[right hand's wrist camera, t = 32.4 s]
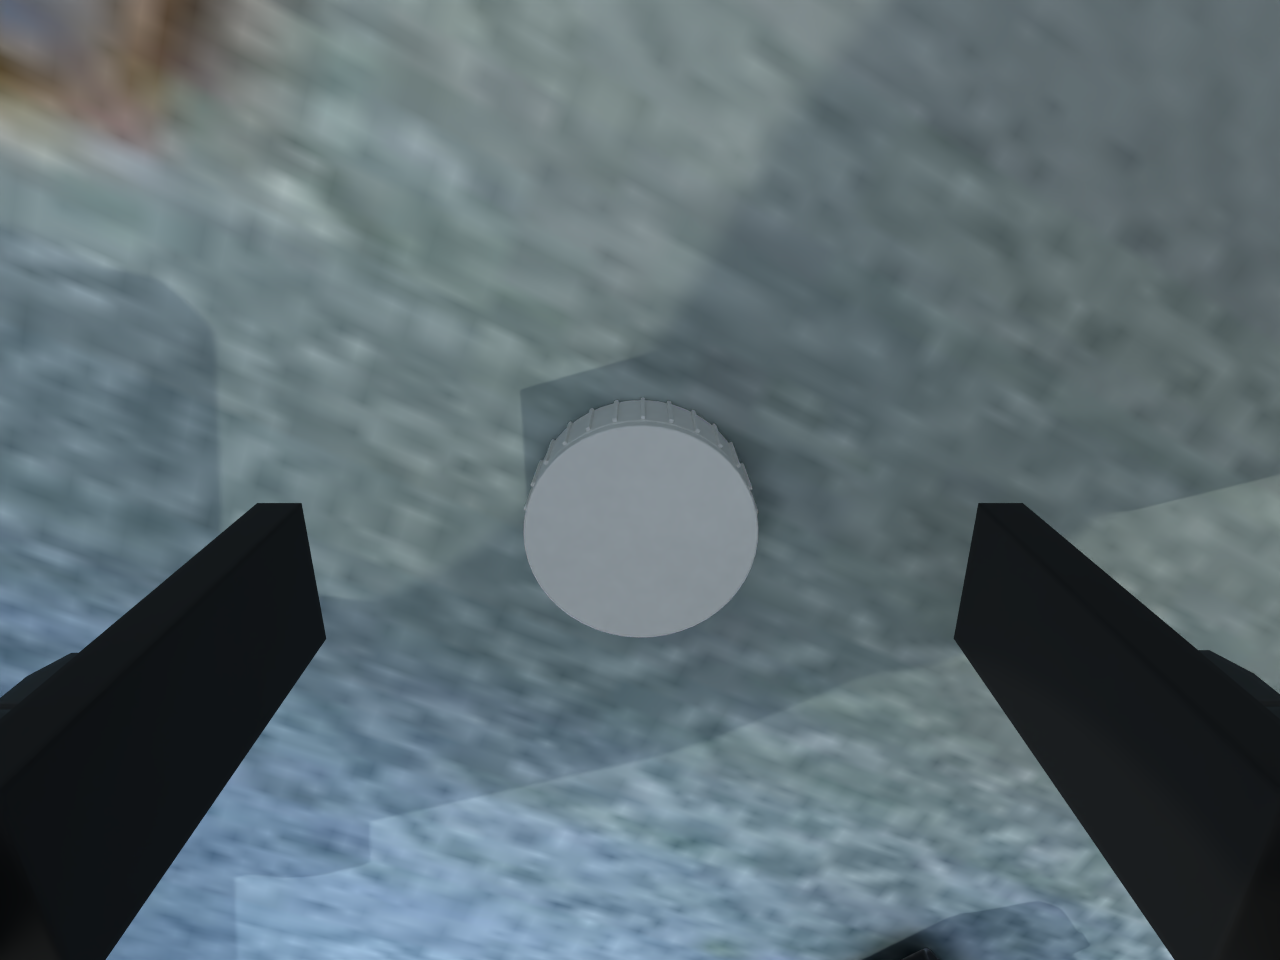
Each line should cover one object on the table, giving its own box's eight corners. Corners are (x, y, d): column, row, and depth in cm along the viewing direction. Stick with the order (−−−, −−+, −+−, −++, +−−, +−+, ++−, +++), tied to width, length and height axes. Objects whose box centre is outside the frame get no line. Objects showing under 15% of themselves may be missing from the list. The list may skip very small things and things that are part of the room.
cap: (753, 585, 17) (766, 630, 15) (549, 603, 17) (538, 650, 15) (743, 386, 15) (756, 411, 13) (516, 408, 15) (501, 435, 14)
